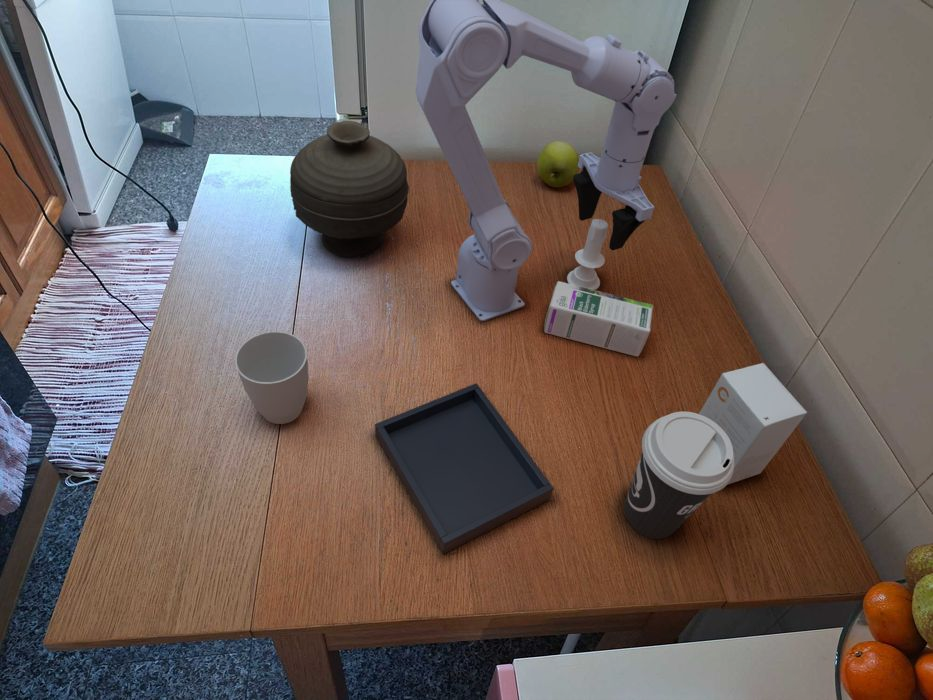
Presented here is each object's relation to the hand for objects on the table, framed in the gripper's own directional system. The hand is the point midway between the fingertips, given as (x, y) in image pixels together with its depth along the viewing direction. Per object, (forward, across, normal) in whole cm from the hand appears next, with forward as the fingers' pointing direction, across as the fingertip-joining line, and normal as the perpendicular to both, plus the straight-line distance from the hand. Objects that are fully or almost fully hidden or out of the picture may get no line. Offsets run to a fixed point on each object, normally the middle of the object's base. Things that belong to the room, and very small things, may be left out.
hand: (600, 232), depth 97 cm
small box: (+10, -35, +4) cm, 36 cm away
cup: (+10, -4, +51) cm, 52 cm away
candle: (+10, 0, 0) cm, 10 cm away
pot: (+10, +25, +30) cm, 40 cm away
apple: (+10, +26, -11) cm, 30 cm away
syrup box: (+7, -15, 0) cm, 17 cm away
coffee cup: (+10, -37, +18) cm, 42 cm away
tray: (+10, -21, +35) cm, 42 cm away
